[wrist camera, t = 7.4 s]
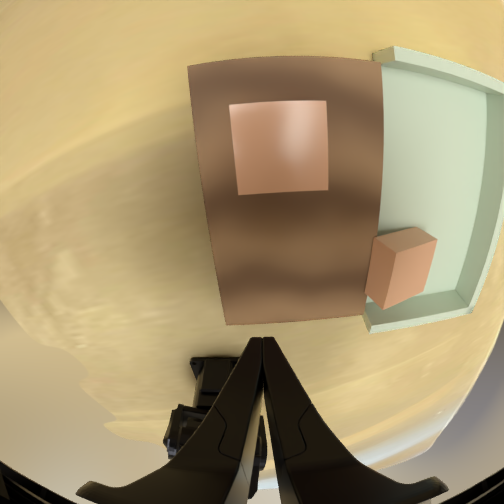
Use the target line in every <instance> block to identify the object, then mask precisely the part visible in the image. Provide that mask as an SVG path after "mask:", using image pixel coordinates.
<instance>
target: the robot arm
mask: <svg viewBox="0 0 504 504" xmlns="http://www.w3.org/2000/svg"><path fill="white" fill-rule="evenodd" d="M190 365H191V368H192V370H193V373H194V375H195V377H196V380H197V383H196V389H195V395H194V401H193V407H189V406H184V405H183V404H178V408H177V409H175V410H172V413H171V418H170V422H169V425H168V428H167V431H166V433H165V436H164V439H163V444H164V445H165V446H166V448H167V452H168V459H171V460H170V461H169V462H168V463H167V464H166V465H164V466H163V467H161V468H160V469H158V470H156V471H154V472H152V473H150V474H148V475H147V476H145V477H143V478H141V479H139V480H137V481H135V482H133V483H131V484H129V485H127V486H124V487H109V486H106V485H103V484H100V483H97V482H93V481H89V482H87V483H86V484H84V485H83V486H82V487H80V489H78V491H77V492H76V495H77V496H80V497H82V498H85V499H87V500H89V501H92V502H94V503H97V504H247V500H248V499H251V498H252V497H253V496H254V494H255V493H256V492H257V488H258V477H259V471H262V470H263V469H264V467H265V464H266V459H267V440H266V433H265V426H264V419H263V416H260V412H261V404H262V396H263V390H264V399H265V405H266V412H267V418H268V424H269V431H270V437H271V443H272V450H273V456H274V462H275V468H276V474H277V481H278V486H279V493H280V499H281V504H431V498H433V497H436V496H438V495H440V494H442V493H444V492H447V491H448V490H449V489H448V487H447V486H446V485H445V483H443V482H442V481H441V480H440V479H438V478H437V477H435V476H434V477H430V478H427V479H424V480H422V481H419V482H416V483H413V484H402V483H398V482H396V481H394V480H392V479H390V478H388V477H386V476H384V475H382V474H380V473H378V472H376V471H375V470H373V469H371V468H369V467H367V466H365V465H364V464H362V463H361V462H359V461H358V460H357V459H356V458H355V457H354V456H353V455H352V454H351V453H350V452H349V451H348V450H347V449H346V447H345V446H344V445H343V444H342V443H341V442H340V440H339V439H338V438H337V437H336V436H335V435H334V433H333V432H332V431H331V430H330V428H329V427H328V426H327V424H326V423H325V422H324V421H323V419H322V417H321V416H320V414H319V413H318V411H317V410H316V408H315V406H314V405H313V404H311V403H312V402H311V400H310V398H309V397H308V395H307V393H306V392H305V390H304V388H303V387H302V385H301V383H300V381H299V380H298V378H297V376H296V375H295V373H294V371H293V370H292V368H291V366H290V364H289V363H288V361H287V359H286V357H285V356H284V354H283V352H282V351H281V349H280V347H279V345H278V344H277V342H276V340H275V338H274V337H263V338H261V337H252V338H250V340H249V342H248V344H247V345H246V347H245V349H244V351H243V353H242V354H241V356H240V358H192V359H191V360H190ZM0 504H77V503H75V502H73V501H70V500H69V499H67V498H65V497H63V496H60V495H59V494H57V493H55V492H53V491H51V490H49V489H47V488H45V487H43V486H41V485H40V484H38V483H36V482H34V481H33V480H31V479H29V478H27V477H26V476H24V475H22V474H20V473H18V472H17V471H16V470H14V469H12V468H11V467H9V466H8V465H6V464H5V463H3V462H2V461H0ZM439 504H504V468H502V469H500V470H499V471H497V472H496V473H494V474H492V475H491V476H489V477H488V478H486V479H484V480H483V481H481V482H479V483H477V484H475V485H474V486H472V487H470V488H468V489H467V490H465V491H463V492H461V493H459V494H457V495H455V496H453V497H451V498H450V499H447V500H445V501H443V502H441V503H439Z"/></svg>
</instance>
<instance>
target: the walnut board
mask: <svg viewBox="0 0 504 504" xmlns="http://www.w3.org/2000/svg"><path fill="white" fill-rule="evenodd" d="M187 68H188V78H189V88H190V97H191V106H192V115H193V123H194V131H195V139H196V147H197V154H198V162H199V169H200V176H201V183H202V190H203V196H204V203H205V209H206V216H207V222H208V228H209V234H210V240H211V246H212V252H213V257H214V263H215V269H216V274H217V280H218V285H219V291H220V296H221V301H222V306H223V311H224V316H225V321H226V325H246V324H266V323H281V322H295V321H307V320H318V319H328V318H338V317H347V316H355V315H363V314H364V310H365V305H366V300H367V295H366V294H365V293H364V292H365V287H366V282H367V277H368V271H369V265H370V259H371V253H372V246H373V239H374V237H377V232H378V223H379V214H380V204H381V191H382V176H383V153H384V106H383V84H382V70H381V62H375V61H368V60H359V59H350V58H338V57H320V56H271V57H254V58H242V59H232V60H223V61H216V62H209V63H202V64H196V65H191V66H187ZM273 101H326V106H327V128H328V190H317V191H295V192H277V193H262V194H248V195H238V187H237V178H236V168H235V159H234V149H233V139H232V130H231V120H230V110H229V105H234V104H244V103H257V102H273Z"/></svg>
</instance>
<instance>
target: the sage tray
mask: <svg viewBox="0 0 504 504" xmlns="http://www.w3.org/2000/svg"><path fill="white" fill-rule="evenodd" d="M372 58H373V61H375V62H381V70H382V84H383V106H384V153H383V176H382V191H381V204H380V214H379V223H378V232H377V237H378V236H382V235H386V234H389V233H393V232H397V231H401V230H405V229H409V228H413V227H418V228H419V229H421V230H423V231H425V232H426V233H428V234H430V235H431V236H433V237H435V238H436V239H438V240H437V244H436V248H435V252H434V256H433V260H432V264H431V267H430V271H429V274H428V278H427V281H426V284H425V287H424V291H423V292H421V293H419V294H417V295H415V296H413V297H411V298H408V299H406V300H404V301H402V302H400V303H398V304H396V305H393V306H391V307H389V308H387V309H384V310H382V309H381V308H380V307H379V306H378V305H377V304H376V303H375V302H374V301H373V300H372V299H371V298H370V297H369V296H368V295H367V300H366V305H365V310H364V314H363V315H362V317H363V319H364V322H365V324H366V327H367V329H368V332H369V334H371V333H378V332H384V331H390V330H396V329H402V328H407V327H412V326H417V325H422V324H427V323H432V322H436V321H441V320H445V319H450V318H454V317H458V316H462V315H466V314H470V313H472V311H473V309H474V306H475V304H476V302H477V299H478V297H479V294H480V292H481V289H482V287H483V284H484V282H485V279H486V276H487V273H488V271H489V268H490V265H491V262H492V259H493V256H494V252H495V249H496V246H497V242H498V239H499V235H500V231H501V227H502V223H503V219H504V82H502V81H499V80H497V79H495V78H493V77H491V76H488V75H486V74H484V73H481V72H479V71H477V70H474V69H472V68H469V67H466V66H464V65H461V64H458V63H455V62H452V61H449V60H446V59H443V58H440V57H437V56H433V55H430V54H426V53H422V52H419V51H415V50H410V49H406V48H402V47H397V46H392V47H389V48H386V49H383V50H380V51H378V52H375V53H372Z"/></svg>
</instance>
